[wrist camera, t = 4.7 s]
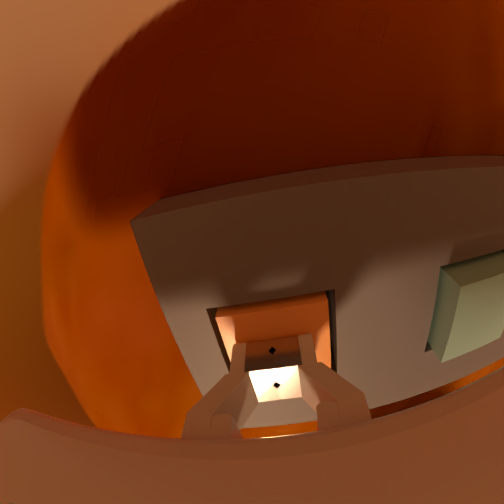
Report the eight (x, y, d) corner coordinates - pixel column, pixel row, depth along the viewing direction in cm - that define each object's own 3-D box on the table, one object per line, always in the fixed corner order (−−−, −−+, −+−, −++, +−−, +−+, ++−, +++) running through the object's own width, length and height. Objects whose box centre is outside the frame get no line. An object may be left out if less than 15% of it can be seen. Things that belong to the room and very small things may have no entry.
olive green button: (497, 248, 9) (521, 265, 8) (482, 316, 11) (500, 337, 9) (436, 264, 10) (460, 286, 8) (424, 336, 11) (440, 363, 10)
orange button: (318, 274, 11) (327, 300, 9) (324, 346, 13) (331, 375, 11) (221, 290, 12) (215, 317, 10) (242, 358, 13) (240, 387, 11)
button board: (561, 158, 9) (589, 168, 6) (538, 303, 13) (557, 322, 11) (159, 199, 11) (130, 221, 9) (226, 390, 16) (221, 428, 13)
